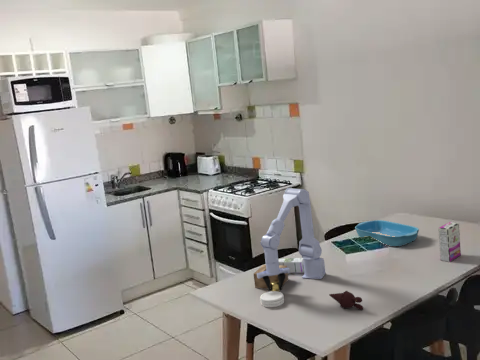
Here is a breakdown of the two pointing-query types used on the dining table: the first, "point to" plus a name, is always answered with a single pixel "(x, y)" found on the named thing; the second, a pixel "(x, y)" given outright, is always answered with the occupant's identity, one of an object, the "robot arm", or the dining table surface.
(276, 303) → the coaster
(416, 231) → the casserole dish
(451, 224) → the candy bar box
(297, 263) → the syrup box
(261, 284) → the box
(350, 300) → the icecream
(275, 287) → the cylinder
